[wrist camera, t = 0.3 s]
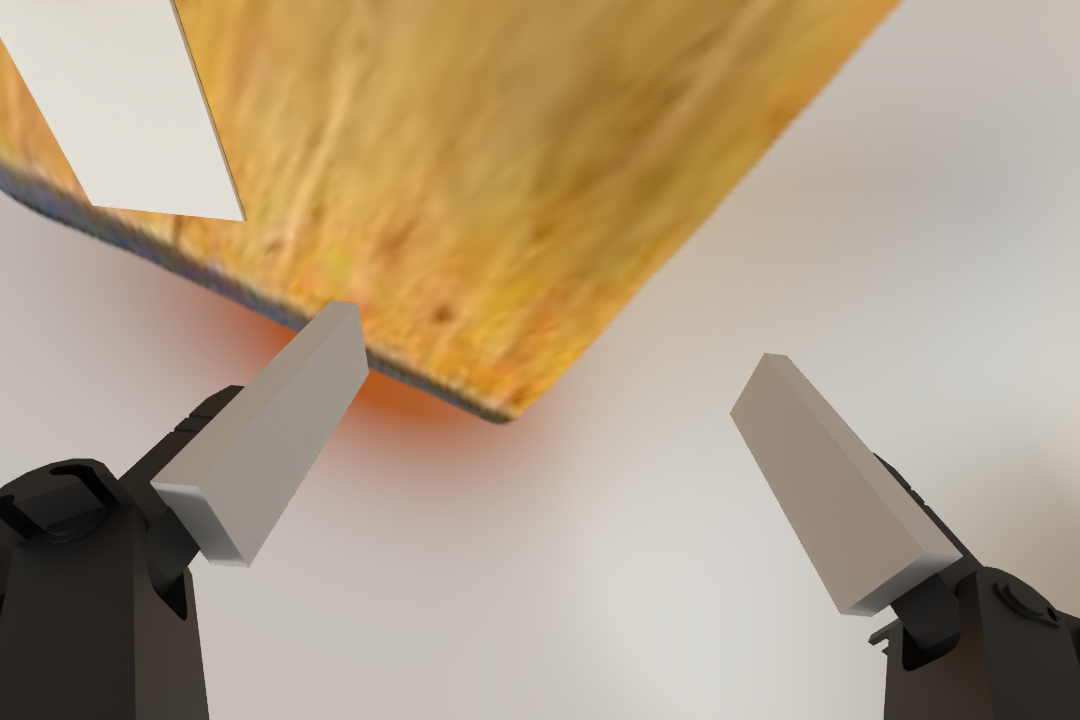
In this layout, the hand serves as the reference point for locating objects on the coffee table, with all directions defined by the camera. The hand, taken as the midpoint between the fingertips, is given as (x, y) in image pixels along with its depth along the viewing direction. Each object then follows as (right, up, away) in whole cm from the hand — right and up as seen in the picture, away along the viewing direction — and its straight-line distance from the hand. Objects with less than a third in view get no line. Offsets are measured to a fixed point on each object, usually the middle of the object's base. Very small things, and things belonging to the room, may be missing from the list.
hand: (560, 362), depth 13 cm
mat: (-35, +21, +20) cm, 46 cm away
